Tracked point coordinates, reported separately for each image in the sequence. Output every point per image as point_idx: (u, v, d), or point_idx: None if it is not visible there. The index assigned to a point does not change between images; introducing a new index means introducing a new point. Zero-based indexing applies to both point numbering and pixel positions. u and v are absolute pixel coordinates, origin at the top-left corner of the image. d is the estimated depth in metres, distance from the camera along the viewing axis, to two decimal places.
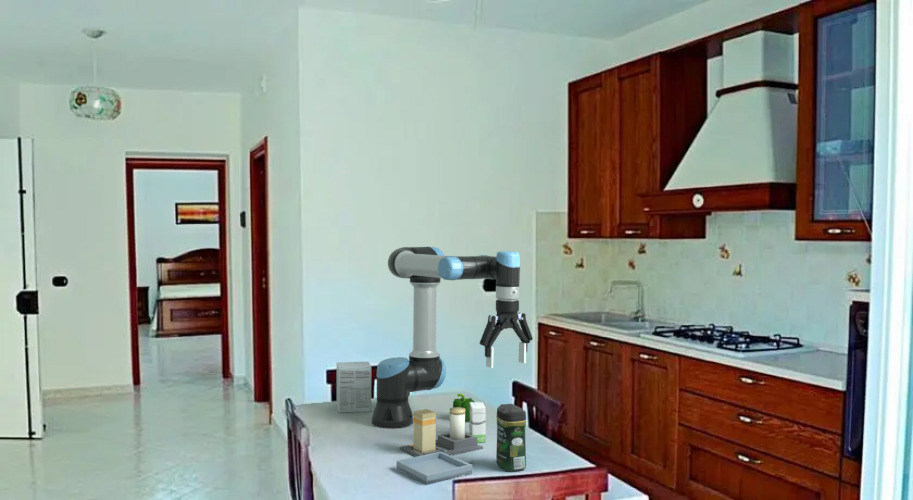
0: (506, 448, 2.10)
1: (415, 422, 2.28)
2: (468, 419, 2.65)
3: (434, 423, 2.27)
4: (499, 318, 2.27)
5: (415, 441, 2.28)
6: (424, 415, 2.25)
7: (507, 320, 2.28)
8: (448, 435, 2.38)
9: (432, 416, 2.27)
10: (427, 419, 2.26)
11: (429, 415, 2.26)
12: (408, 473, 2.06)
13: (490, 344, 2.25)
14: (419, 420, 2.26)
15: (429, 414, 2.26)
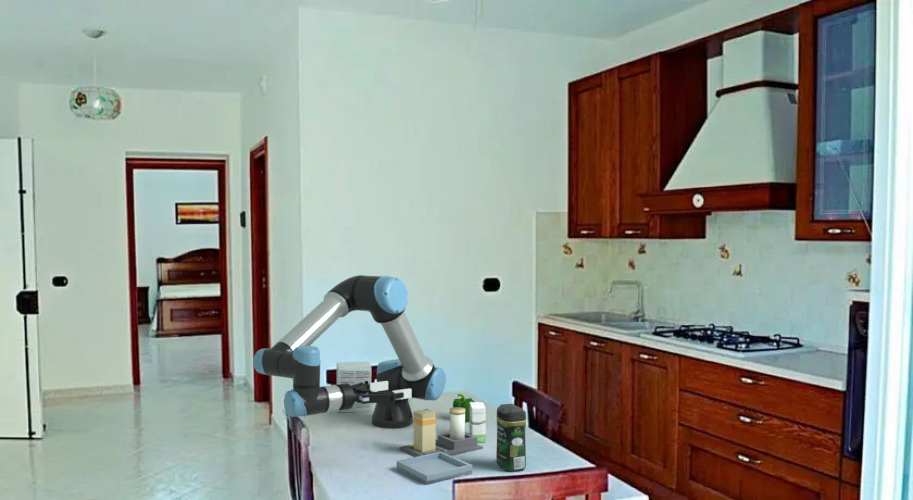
0: (506, 448, 2.10)
1: (415, 422, 2.28)
2: (468, 419, 2.65)
3: (434, 423, 2.27)
4: None
5: (415, 441, 2.28)
6: (424, 415, 2.25)
7: None
8: (448, 435, 2.38)
9: (432, 416, 2.27)
10: (427, 419, 2.26)
11: (429, 415, 2.26)
12: (408, 473, 2.06)
13: None
14: (419, 420, 2.26)
15: (429, 414, 2.26)
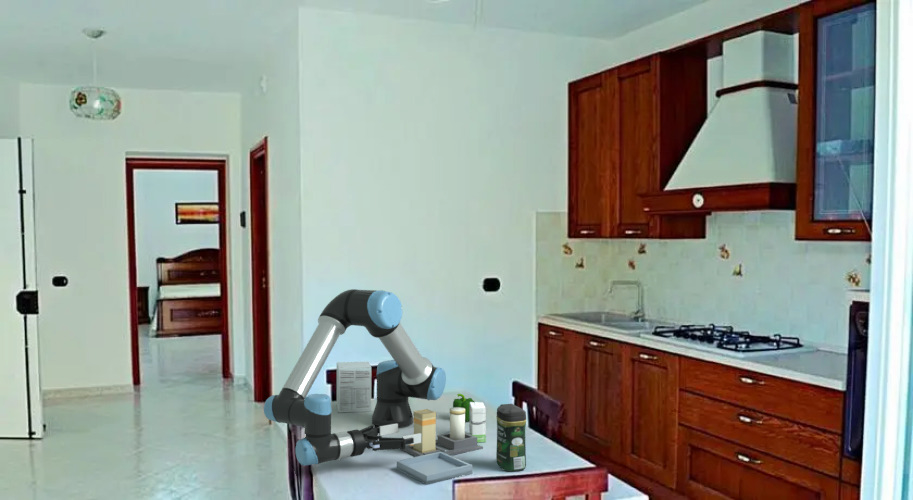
0: (506, 448, 2.10)
1: (415, 422, 2.28)
2: (468, 419, 2.65)
3: (434, 423, 2.27)
4: None
5: None
6: (424, 415, 2.25)
7: None
8: (448, 435, 2.38)
9: (432, 416, 2.27)
10: (427, 419, 2.26)
11: (429, 415, 2.26)
12: (408, 473, 2.06)
13: None
14: (419, 420, 2.26)
15: (429, 414, 2.26)
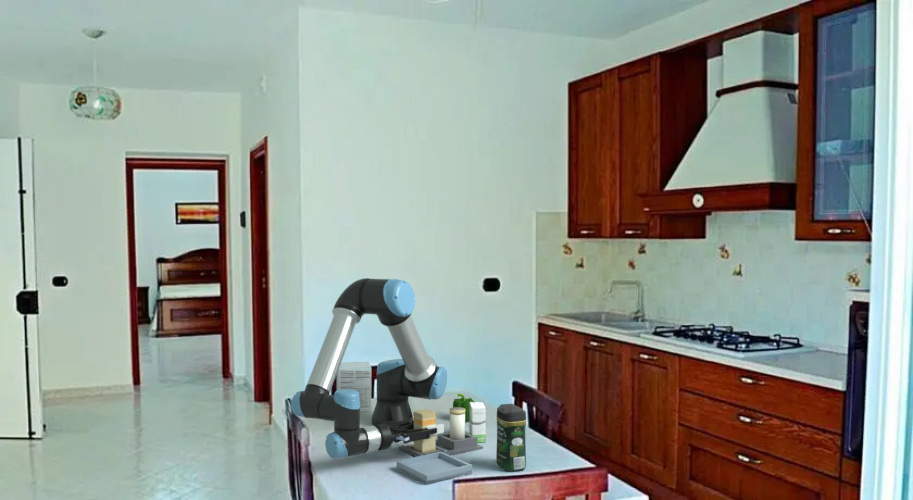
0: (506, 448, 2.10)
1: (415, 422, 2.28)
2: (468, 419, 2.65)
3: (434, 423, 2.27)
4: None
5: (415, 441, 2.28)
6: (424, 415, 2.25)
7: None
8: (448, 435, 2.38)
9: (432, 416, 2.27)
10: (427, 419, 2.26)
11: (429, 415, 2.26)
12: (408, 473, 2.06)
13: None
14: (419, 420, 2.26)
15: (429, 414, 2.26)
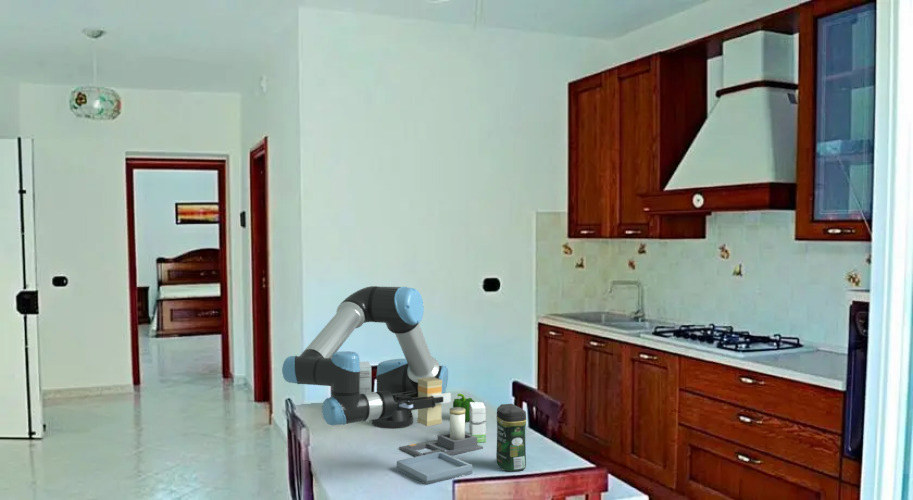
0: (506, 448, 2.10)
1: (419, 390, 2.12)
2: (468, 419, 2.65)
3: (440, 391, 2.11)
4: None
5: (419, 411, 2.12)
6: (429, 382, 2.09)
7: None
8: (448, 435, 2.38)
9: (438, 384, 2.10)
10: (432, 387, 2.09)
11: (434, 382, 2.10)
12: (408, 473, 2.06)
13: None
14: (424, 388, 2.10)
15: (435, 381, 2.10)
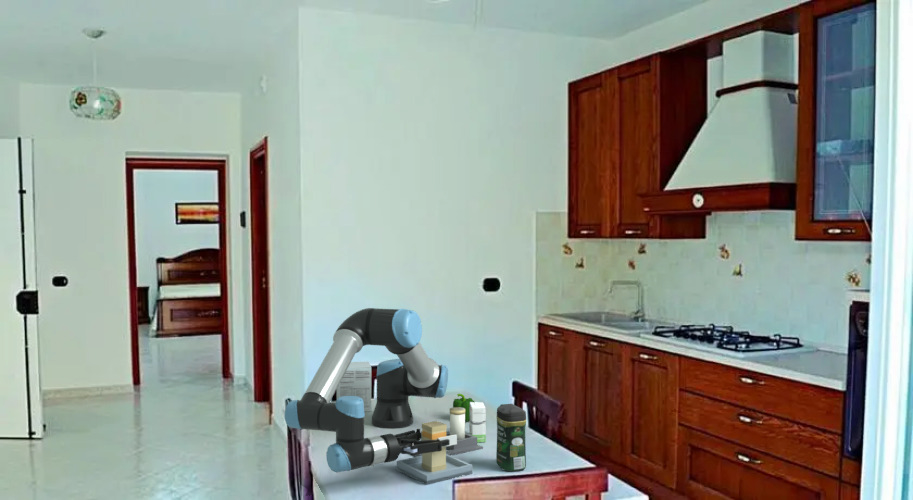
0: (506, 448, 2.10)
1: (424, 435, 2.09)
2: (468, 419, 2.65)
3: (444, 436, 2.09)
4: None
5: (423, 456, 2.10)
6: (434, 428, 2.06)
7: None
8: (448, 435, 2.38)
9: (442, 429, 2.08)
10: (437, 433, 2.07)
11: (438, 427, 2.07)
12: (408, 473, 2.06)
13: None
14: (428, 433, 2.07)
15: (439, 427, 2.07)
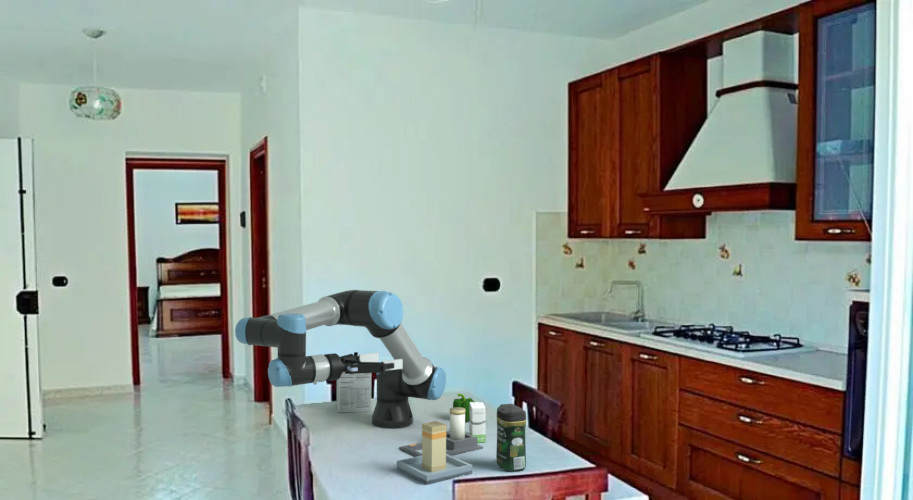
0: (506, 448, 2.10)
1: (424, 435, 2.09)
2: (468, 419, 2.65)
3: (444, 436, 2.09)
4: None
5: (423, 456, 2.10)
6: (434, 428, 2.06)
7: None
8: (448, 435, 2.38)
9: (442, 429, 2.08)
10: (437, 433, 2.07)
11: (438, 427, 2.07)
12: (408, 473, 2.06)
13: None
14: (428, 433, 2.07)
15: (439, 427, 2.07)
